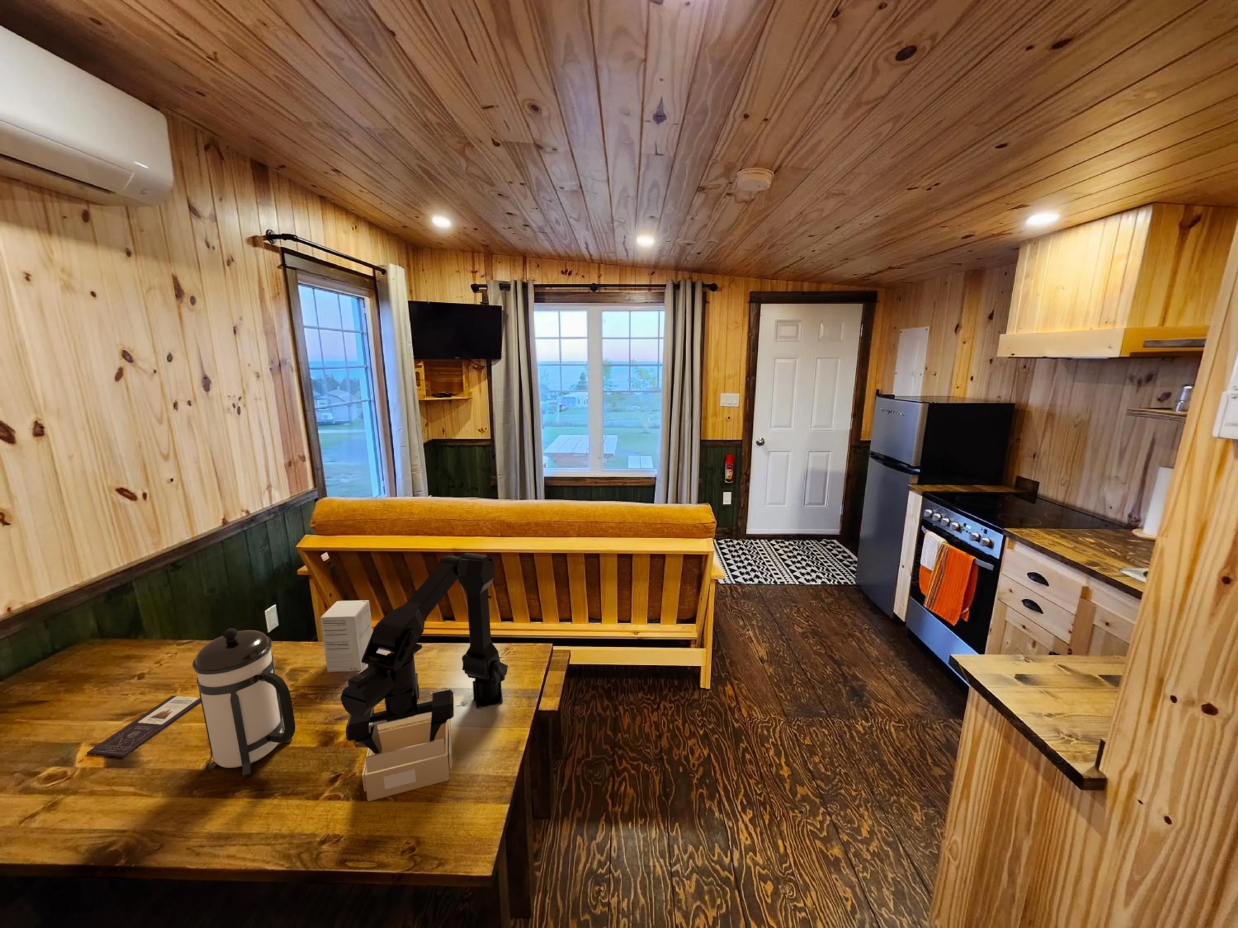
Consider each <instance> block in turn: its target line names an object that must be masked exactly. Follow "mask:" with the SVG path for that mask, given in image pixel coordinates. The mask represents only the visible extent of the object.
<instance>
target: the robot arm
mask: <svg viewBox="0 0 1238 928" xmlns="http://www.w3.org/2000/svg"><path fill="white" fill-rule="evenodd" d="M495 569H496V564H495V559H494V558H493V557H492V556H491V555H484V554H479V553H478V554H477V553H471V552H465V553H463V554H462V555H460V556H458V555H457V556H456V555H452V556H451V555H445V556H443V557H442V558H441V559H440V560H439V562H438V565H437V567H436V568H435V569H434V570H433V571H432V573H430V575H429V576H427V578H426V580H424V581H423V583H422V584H421V585H420V586H419V587H418V589H417V590H416V591H415V592H414V593H413V594H412V596H411V597H410V598H409V599H408V600H407V601H406V602H405V603H404V604H403V605H400V606H399V607H396V608H394V609H392V610H389V612H387V614H386V615H385V616H383V617H382V618H381V619H380V620H379V621H378V622H377V623H376V625H374V627H373V628H372V631H373V633H372V635H371V638H370V640H369V643H368V645H367V648H366V650H365V653H364V655H363V658H362V660H361V662H362V663H365V665H367V667H366V668H365V669H362V670H361V671H360V672H359V673H358V674H355V675H353V676H352V677H351V678H349V679H348V680H347V684H348V685H347V686H346V687H344V688H343V689H342V691H341V695H340V701H341V704H342V707H343V708H344V709H345V711H346V712H347V713H348V714H349V716H348V719H347V723H346V725H345V726H346V727H345V736H346V740H347V741H349V742H351V741H354V742H355V743H356V744H357V743H362V744H363V745H364V746H366V748H367V749H368V748H369V749H371V750H372V751H373V753H374V754H379V753H382V746H381V742H380V737H379V733H378V732H379V731H378V728H377V725H378V724H383V723H388V722H393V721H397V720H402V719H406V718H408V717H412V716H415V715H419V714H424V713H429V712H432V715H431V719H430V720H431V727H430V741H434V739H435V736H436V734H437V732H438V730H439V728H440V726H441V725H442V724H444V723H446V722H447V720H448V721H449V720H450V719H452V718H453V717H454V716H455V711H454V710H455V709H454V707H455V706H454V705H455V702H454V701H455V700H454V692H453V690H451V689H446V690H442V691H441V690H440V691H437V692H433V693H432V697H431V700H426V701H425V700H424V701H421V702H419V700H420V685H419V675H418V673H417V672H416V663H415V654H416V653H417V652H419V651H421V649H422V648H423V645H422V644H419V643H418V641H419V640H420V638H421V636H422V635H423V633H424V630H425V623H426V620H427V618H428V616H429V615H430V614H431V613H432V611H433V610H434V609H435V608H436V606H437V605H438V604H439V603H440V602H441V600H442V599H443V598H444V597H445V595H446V594H447V593H448V592H449V590H450V589H451V588H452V587H453V585H454V584H455V582H456V581H458V583H459V584H460V585H461V587H462V588H463V589H464V591H465V595H466V604H467V605H466V606H467V621H468V632H469V633H468V634H469V635H468V637H469V647H468V649H467V650H466V652H465V654H463V655H462V656H461V660H462V668H461V670H462V671H464V674H465V675H466V676H467V677H468V679H469V678H471V679H474V680H473V681H472V690H473V691H472V693H473V701H474V702H475V707H476V708H477V709H478V708H484V707H488V706H492V705H497V704H502V703H503V702H504V699H503V691H502V682H504V681H505V680H506V675H507V674H508V667H509V666H508V664H505V663H503V662H501V660H500V654H499V653H500V652H499V650H498V649H497V647H496V646H495V644H494V642H493V641H492V634H491V633H492V631H491V618H490V617H491V616H490V601H489V599H490V598H489V587H490V585H491V584H492V582H493V580H494V579H495ZM379 649H380V650H384V651H387V652H389V653H387V654H383V653H378V651H379ZM383 700H384V706H385V707H384V708H385V710H382V711H377V712H375V707H376V706H377V705H378V704H380V702H382V701H383ZM430 741H429V742H430Z"/></svg>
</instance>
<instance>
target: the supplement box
mask: <svg viewBox="0 0 1238 928" xmlns="http://www.w3.org/2000/svg"><path fill="white" fill-rule="evenodd" d="M319 619H320V627H321V634H322V641H323V649H324V656H325V663H326V668H327V672H328V673H332V672H333V673H334V672H339V673H340V672H358V671H360V672H362V671H363V670H364V667H365V665H366V664H365V663H362V662H361V660H362V658H363V655H364V653H365V650H366V648H367V645H368V643H369V640H370V638H371V635H372V633H373V623H372V615H371V605H370V600H369V599H368V600H367V599H366V600H365V599H364V600H362V599H360V600H337V601H336V602H334V604H332V605H331V607H329V608H328V609H327V611H326V612H324V613H323V615H321V616H320V617H319Z"/></svg>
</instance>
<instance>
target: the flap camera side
mask: <svg viewBox="0 0 1238 928" xmlns="http://www.w3.org/2000/svg"><path fill="white" fill-rule="evenodd" d="M443 754H445V750H444V739H439V740H435V741H430V742H426V743H422V744H418V745H413V746H409V747H405V748H401V749H396V750H392V751H388V752H384V753H379V754H375V755H371V756H367V757H366V756H364V757H365V758H364V759H365V760H366V767H367V773H369V772H373V771H377V770H382V769H386V768H390V767H394V766H398V765H402V764H406V763H410V762H414V761H418V760H422V759H426V758H430V757H434V756H438V755H443ZM365 760H364V761H365Z"/></svg>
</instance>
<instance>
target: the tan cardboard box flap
mask: <svg viewBox="0 0 1238 928" xmlns="http://www.w3.org/2000/svg"><path fill="white" fill-rule="evenodd" d="M431 715H432V712H429V713H424V714H419V715H415V716H412V717H408V718H406V719H402V720H397V721H393V722H388V723H383V724H378V725H377V728H378V732H379V731H383V730H388V729H392V728H397V727H401V726H406V725H410V724H415V723H419V722H424V721H428V720H431Z"/></svg>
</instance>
